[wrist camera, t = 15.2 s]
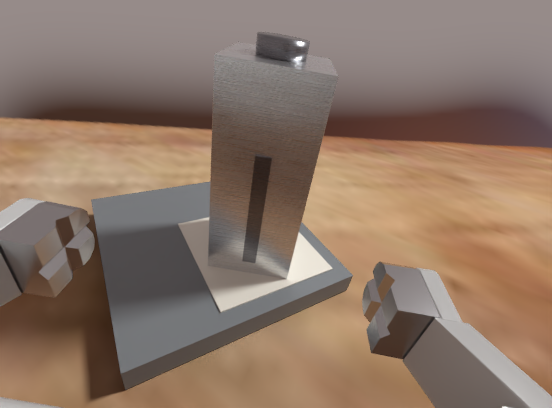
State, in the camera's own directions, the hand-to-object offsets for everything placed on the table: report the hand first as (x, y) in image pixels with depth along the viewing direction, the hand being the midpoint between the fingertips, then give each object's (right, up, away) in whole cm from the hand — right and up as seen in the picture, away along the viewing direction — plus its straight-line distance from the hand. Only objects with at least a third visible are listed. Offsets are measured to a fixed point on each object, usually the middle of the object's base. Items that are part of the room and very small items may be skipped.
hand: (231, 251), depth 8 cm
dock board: (-3, -2, +13) cm, 14 cm away
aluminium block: (0, -2, +12) cm, 12 cm away
